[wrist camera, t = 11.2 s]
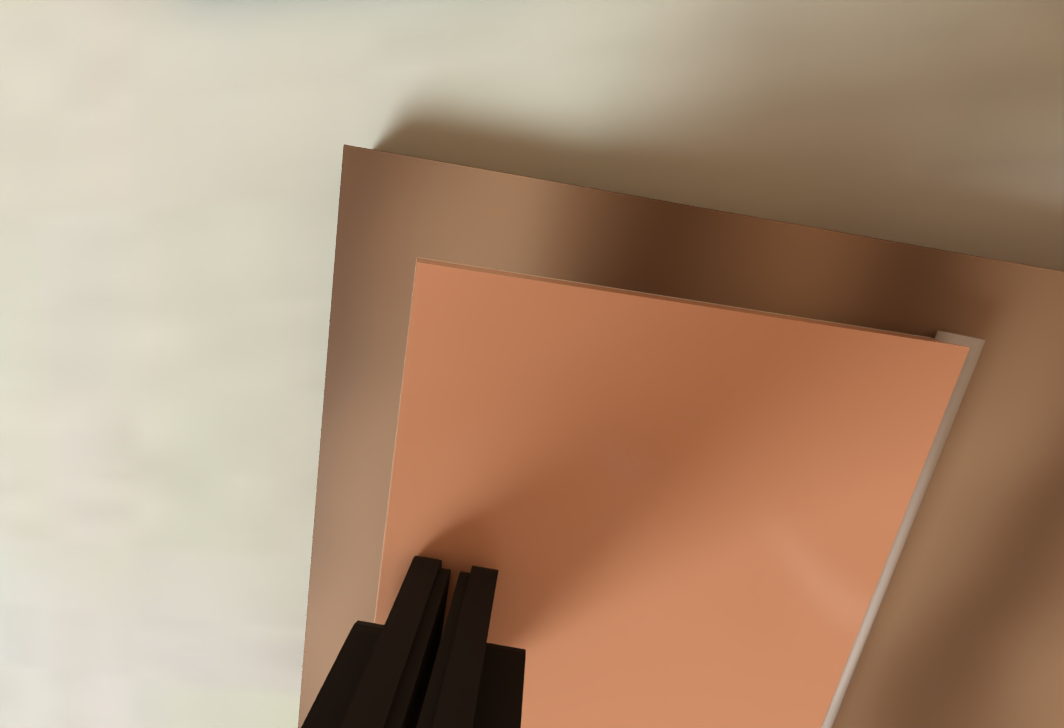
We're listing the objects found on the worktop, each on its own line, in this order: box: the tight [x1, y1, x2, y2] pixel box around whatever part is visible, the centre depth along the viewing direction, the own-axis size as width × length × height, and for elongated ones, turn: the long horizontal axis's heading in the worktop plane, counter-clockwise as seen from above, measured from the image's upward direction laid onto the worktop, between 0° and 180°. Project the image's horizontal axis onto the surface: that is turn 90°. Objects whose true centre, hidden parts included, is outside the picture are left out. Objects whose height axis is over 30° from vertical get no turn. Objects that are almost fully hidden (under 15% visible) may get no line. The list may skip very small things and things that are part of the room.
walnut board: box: [298, 145, 1064, 728], centre depth 15 cm, size 26×18×2 cm
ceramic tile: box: [374, 257, 986, 728], centre depth 12 cm, size 13×14×1 cm
